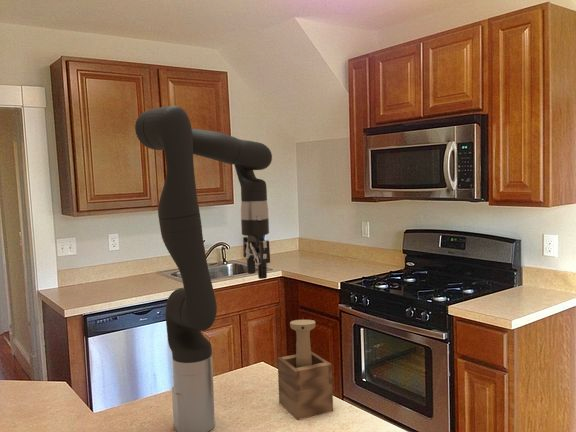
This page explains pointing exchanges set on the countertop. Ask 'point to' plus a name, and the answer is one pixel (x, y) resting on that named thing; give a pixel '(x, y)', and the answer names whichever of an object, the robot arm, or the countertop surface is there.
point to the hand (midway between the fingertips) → (256, 275)
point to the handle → (303, 341)
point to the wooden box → (305, 386)
